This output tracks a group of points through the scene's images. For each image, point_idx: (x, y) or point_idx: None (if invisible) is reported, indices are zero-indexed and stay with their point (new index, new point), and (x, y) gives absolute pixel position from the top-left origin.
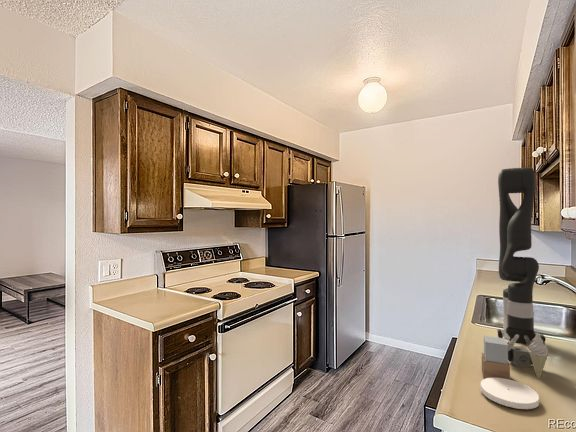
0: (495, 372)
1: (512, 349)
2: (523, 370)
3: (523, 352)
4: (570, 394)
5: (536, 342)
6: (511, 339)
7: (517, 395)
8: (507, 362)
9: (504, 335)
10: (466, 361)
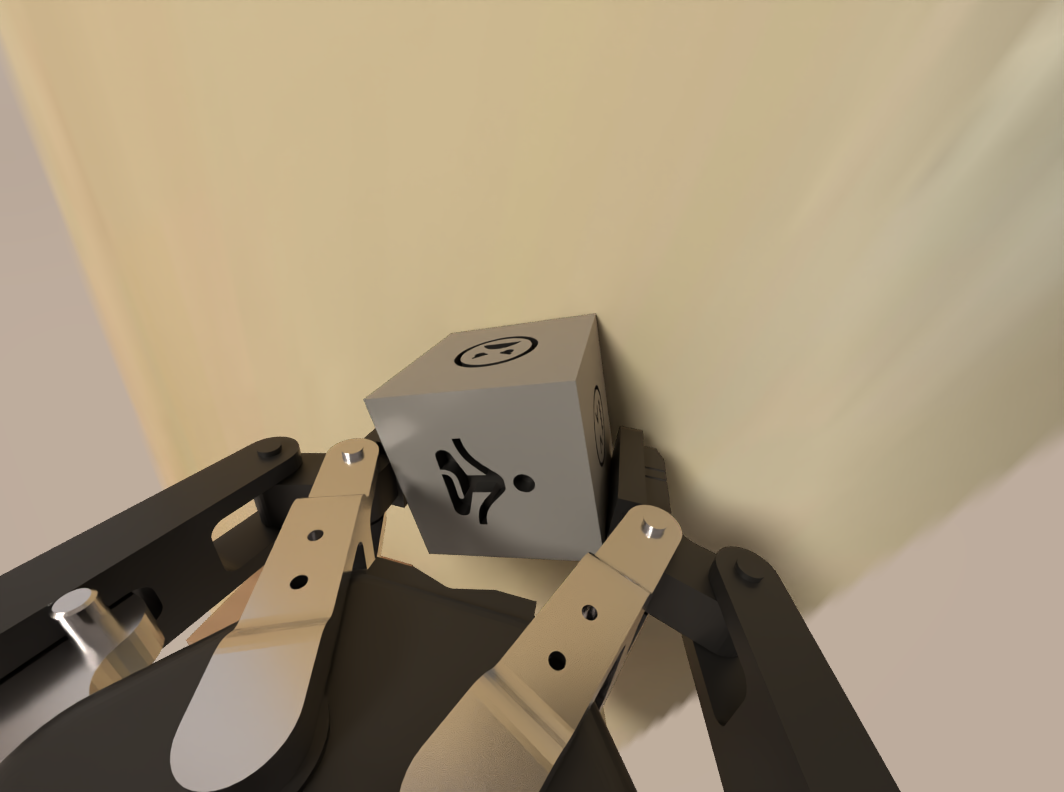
0: None
1: (409, 502)
2: None
3: (515, 550)
4: (669, 710)
5: None
6: (322, 540)
7: None
8: None
9: (153, 660)
10: (198, 436)
